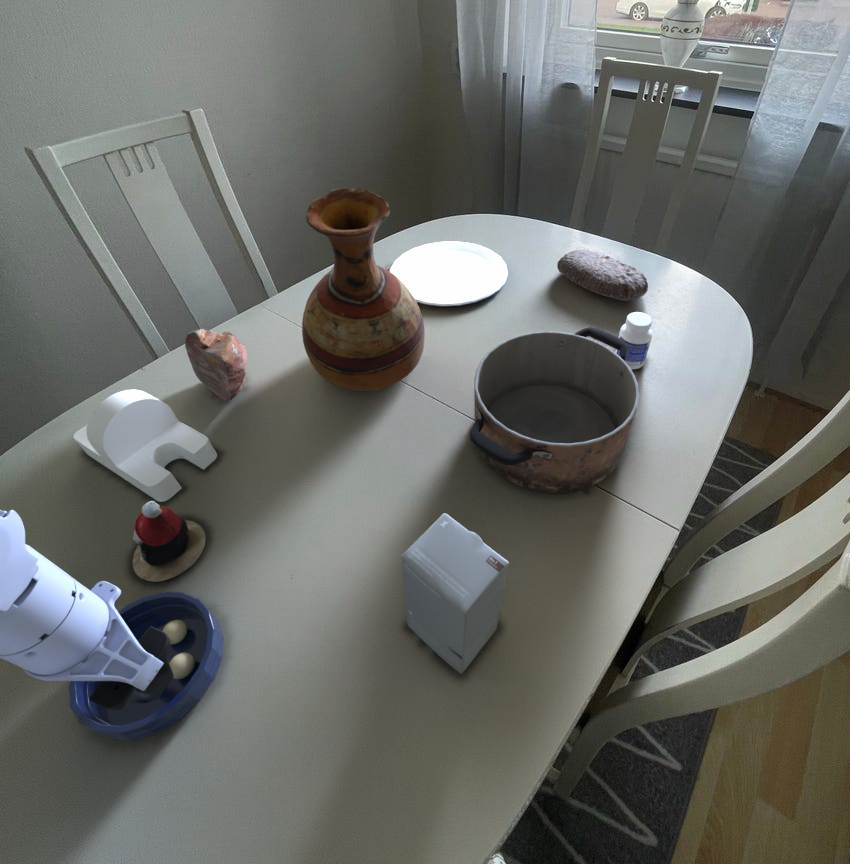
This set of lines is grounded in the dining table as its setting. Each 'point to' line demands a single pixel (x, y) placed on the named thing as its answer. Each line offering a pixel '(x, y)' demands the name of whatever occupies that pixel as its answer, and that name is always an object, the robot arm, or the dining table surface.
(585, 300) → the dining table surface
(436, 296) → the plate
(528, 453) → the saucepan
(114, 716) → the bowl
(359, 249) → the ceramic pitcher
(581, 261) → the decorative stone
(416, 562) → the cosmetic box
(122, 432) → the tape dispenser
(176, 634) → the dumpling
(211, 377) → the stone
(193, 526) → the figurine
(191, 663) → the dumpling
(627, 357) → the pill bottle
